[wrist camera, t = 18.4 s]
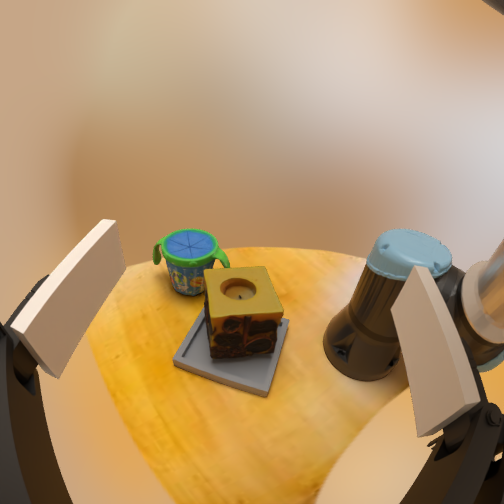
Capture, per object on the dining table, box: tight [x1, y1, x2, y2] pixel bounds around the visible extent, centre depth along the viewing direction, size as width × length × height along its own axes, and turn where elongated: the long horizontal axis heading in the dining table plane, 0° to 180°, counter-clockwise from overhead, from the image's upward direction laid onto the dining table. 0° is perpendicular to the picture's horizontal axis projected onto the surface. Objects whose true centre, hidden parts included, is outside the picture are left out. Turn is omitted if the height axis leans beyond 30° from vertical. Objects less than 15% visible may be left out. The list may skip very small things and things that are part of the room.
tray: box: [173, 308, 289, 397], centre depth 44 cm, size 15×15×2 cm
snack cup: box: [153, 229, 230, 296], centre depth 53 cm, size 16×10×10 cm
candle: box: [204, 266, 284, 359], centre depth 41 cm, size 10×10×10 cm
